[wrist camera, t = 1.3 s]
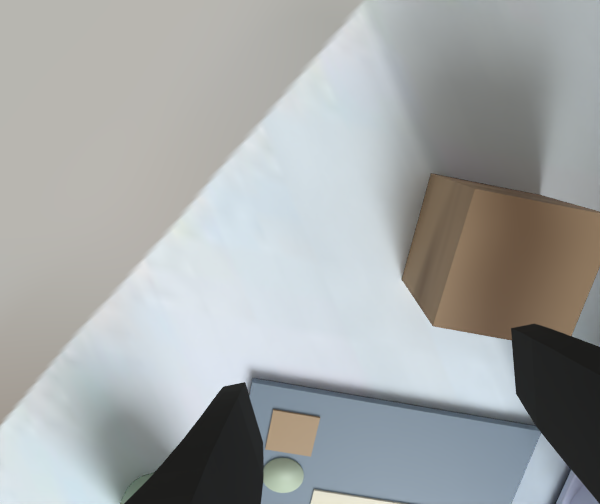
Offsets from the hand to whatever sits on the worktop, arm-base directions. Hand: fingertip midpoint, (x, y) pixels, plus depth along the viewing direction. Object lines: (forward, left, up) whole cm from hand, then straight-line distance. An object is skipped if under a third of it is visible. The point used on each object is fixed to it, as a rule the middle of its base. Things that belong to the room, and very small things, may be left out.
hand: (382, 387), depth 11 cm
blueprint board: (-4, +15, -9) cm, 18 cm away
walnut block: (-5, -3, -9) cm, 11 cm away
